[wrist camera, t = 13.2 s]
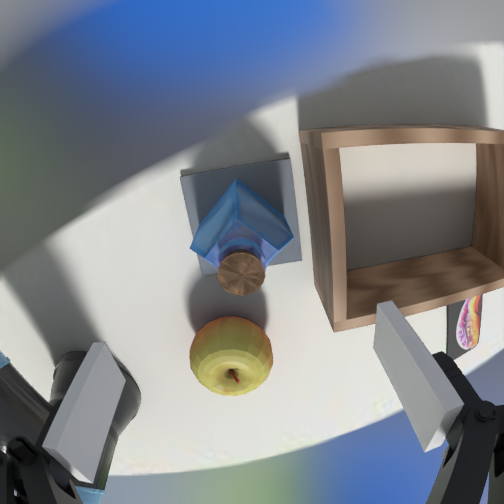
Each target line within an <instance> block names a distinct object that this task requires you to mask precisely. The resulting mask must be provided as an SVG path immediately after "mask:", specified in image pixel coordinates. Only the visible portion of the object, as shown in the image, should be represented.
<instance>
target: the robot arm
mask: <svg viewBox="0 0 504 504" xmlns="http://www.w3.org/2000/svg"><path fill="white" fill-rule="evenodd" d="M373 348H374V350H375V352H376V354H377V356H378V358H379V360H380V362H381V364H382V366H383V368H384V369H385V371H386V373H387V375H388V377H389V379H390V381H391V383H392V385H393V387H394V389H395V391H396V393H397V395H398V397H399V399H400V401H401V403H402V405H403V407H404V410H405V412H406V414H407V416H408V418H409V420H410V422H411V424H412V426H413V428H414V430H415V433H416V435H417V437H418V439H419V441H420V444H421V446H422V448H423V450H424V452H426V451H429V450H431V449H433V448H436V447H438V446H441V445H442V443H443V441H444V440H445V438H446V439H447V441H448V443H449V445H448V447H447V448H446V450H445V451H444V453H443V454H442V456H441V457H444V459H443V462H442V464H441V467H440V470H439V472H438V475H437V478H436V480H435V483H434V485H433V488H432V490H431V493H430V495H429V497H428V500H427V502H426V504H479V503H480V500H481V497H482V493H483V490H484V487H485V483H486V480H487V476H488V472H489V491H488V504H504V405H500V406H495V405H494V404H493V403H491V402H489V401H482V400H481V399H480V397H479V396H478V395H477V393H476V392H475V390H474V389H473V387H472V386H471V384H470V383H469V381H468V380H467V379H466V377H465V376H464V374H462V372H461V370H460V369H459V368H458V367H457V365H456V363H455V362H454V361H453V359H452V358H451V357H450V356H448V355H447V354H445V353H444V352H442V351H441V352H438V353H435V354H432V355H431V353H430V352H429V350H428V349H427V348H426V346H425V345H424V343H423V342H422V341H421V339H420V338H419V336H418V335H417V334H416V332H415V331H414V329H413V328H412V327H411V325H410V324H409V323H408V321H407V320H406V319H405V317H404V316H403V315H402V313H401V312H400V311H399V309H398V308H397V307H396V305H395V304H394V303H393V301H392V300H391V301H387V302H383V303H378V304H377V313H376V325H375V336H374V346H373ZM53 379H54V382H53V385H52V390H51V397H50V401H49V403H48V402H47V401H46V400H45V399H44V398H43V397H42V396H41V395H40V394H39V393H38V392H37V391H36V390H35V389H34V388H33V387H32V386H31V385H30V384H29V383H28V382H27V381H26V380H25V378H24V377H23V376H22V375H21V374H20V373H19V372H18V371H17V370H16V369H15V367H14V366H13V365H12V364H11V363H10V359H9V358H8V357H5V355H4V354H3V353H2V352H1V351H0V504H100V501H101V498H102V496H103V494H104V493H105V491H104V490H105V485H106V481H107V478H108V474H109V470H110V466H111V462H112V458H113V455H114V451H115V447H116V444H117V441H118V437H119V435H120V434H121V433H122V432H123V430H124V429H125V428H126V426H127V425H128V424H129V422H130V421H131V420H132V419H133V418H134V417H135V416H136V414H137V412H138V409H139V406H140V403H141V394H140V391H139V389H138V387H137V385H136V383H135V382H134V381H133V379H132V378H131V377H130V376H129V375H128V374H127V373H126V372H125V371H123V370H122V369H121V368H120V367H118V365H117V363H116V362H115V360H114V358H113V356H112V354H111V352H110V350H109V348H108V346H107V344H106V342H93V344H92V346H91V347H90V349H89V351H88V353H87V352H78V351H77V352H70V353H67V354H65V355H64V356H62V358H61V359H60V361H59V362H58V364H57V366H56V367H55V370H54V375H53ZM14 490H15V491H17V496H15V495H14Z"/></svg>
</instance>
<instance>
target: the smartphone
mask: <svg viewBox="0 0 504 504" xmlns="http://www.w3.org/2000/svg"><path fill="white" fill-rule="evenodd" d="M482 296H483V294H481V295H478V296H475V297H472V298H469V299H466V300H462V301H459V302H456V303H453V304H449V305H447V347H446V354H447V355H448V356H450V357H451V358H452V359H453V360H455V359H456V358H458V357H460V356H461V355H463V354H465V353H466V352H468V351H469V350H471V349H473V348H474V347H475V346H476V345H477V344H478V342H479V334H480V324H481V312H482Z"/></svg>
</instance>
